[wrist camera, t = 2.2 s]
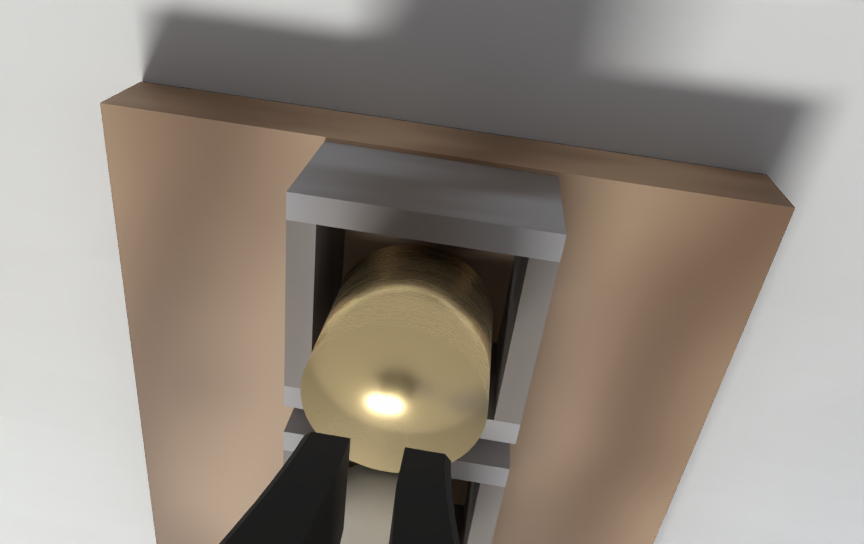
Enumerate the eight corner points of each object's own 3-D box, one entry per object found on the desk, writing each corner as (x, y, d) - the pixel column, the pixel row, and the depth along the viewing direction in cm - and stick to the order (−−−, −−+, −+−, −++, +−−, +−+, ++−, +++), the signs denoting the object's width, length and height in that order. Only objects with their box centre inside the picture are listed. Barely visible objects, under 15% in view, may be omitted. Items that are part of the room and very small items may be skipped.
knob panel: (766, 175, 17) (851, 274, 13) (595, 614, 26) (611, 760, 22) (141, 81, 18) (18, 145, 13) (185, 543, 27) (121, 671, 22)
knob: (505, 257, 14) (502, 342, 11) (480, 386, 16) (472, 485, 13) (341, 232, 14) (302, 310, 11) (334, 362, 16) (298, 457, 13)
